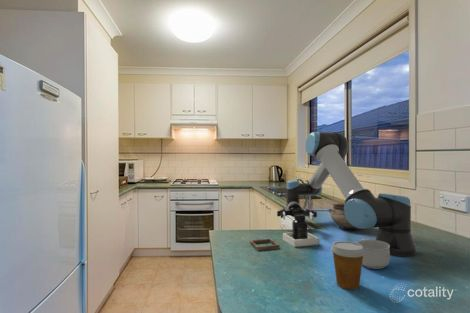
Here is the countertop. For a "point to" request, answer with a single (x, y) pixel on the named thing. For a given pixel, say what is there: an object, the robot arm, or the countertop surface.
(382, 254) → the teacup
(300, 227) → the supplement bottle
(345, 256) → the disposable coffee cup
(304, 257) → the countertop surface
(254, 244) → the walnut collar
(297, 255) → the countertop surface
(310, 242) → the cream tray
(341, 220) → the cooking pot
